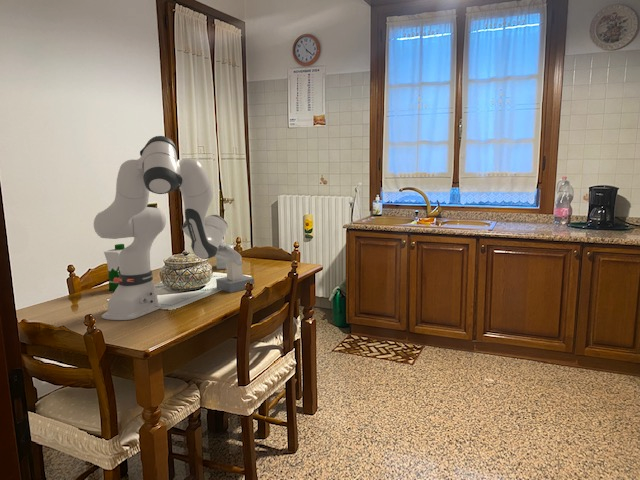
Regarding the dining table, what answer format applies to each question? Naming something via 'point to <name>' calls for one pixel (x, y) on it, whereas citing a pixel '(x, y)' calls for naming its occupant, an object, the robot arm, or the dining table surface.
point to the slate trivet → (233, 284)
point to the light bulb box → (220, 262)
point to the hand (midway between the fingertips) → (235, 263)
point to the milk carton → (113, 265)
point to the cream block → (234, 270)
